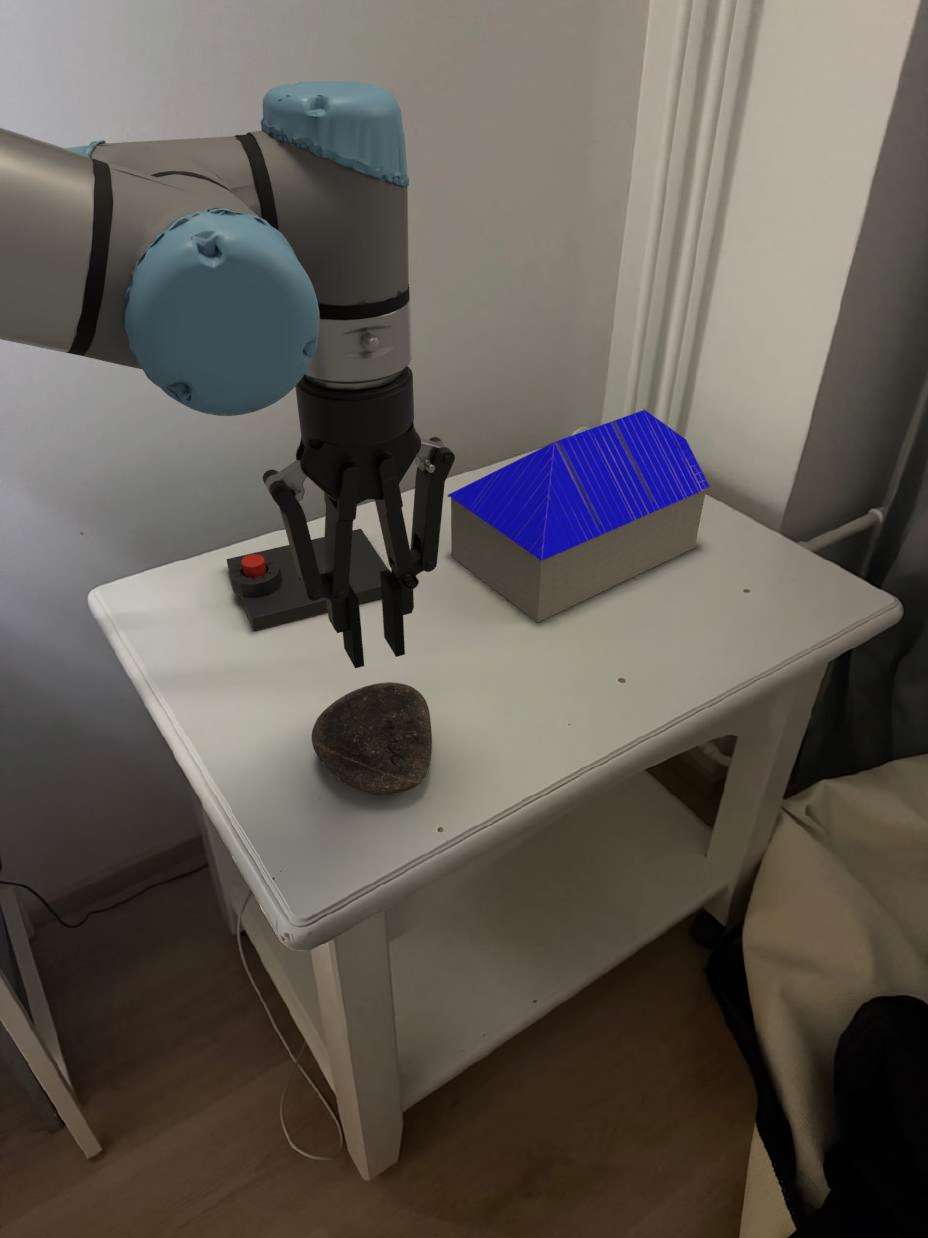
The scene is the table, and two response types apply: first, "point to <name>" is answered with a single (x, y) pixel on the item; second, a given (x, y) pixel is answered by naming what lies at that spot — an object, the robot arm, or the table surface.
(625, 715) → the table surface
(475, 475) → the table surface
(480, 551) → the house
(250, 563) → the tare button
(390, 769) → the stone
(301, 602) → the scale
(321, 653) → the table surface
